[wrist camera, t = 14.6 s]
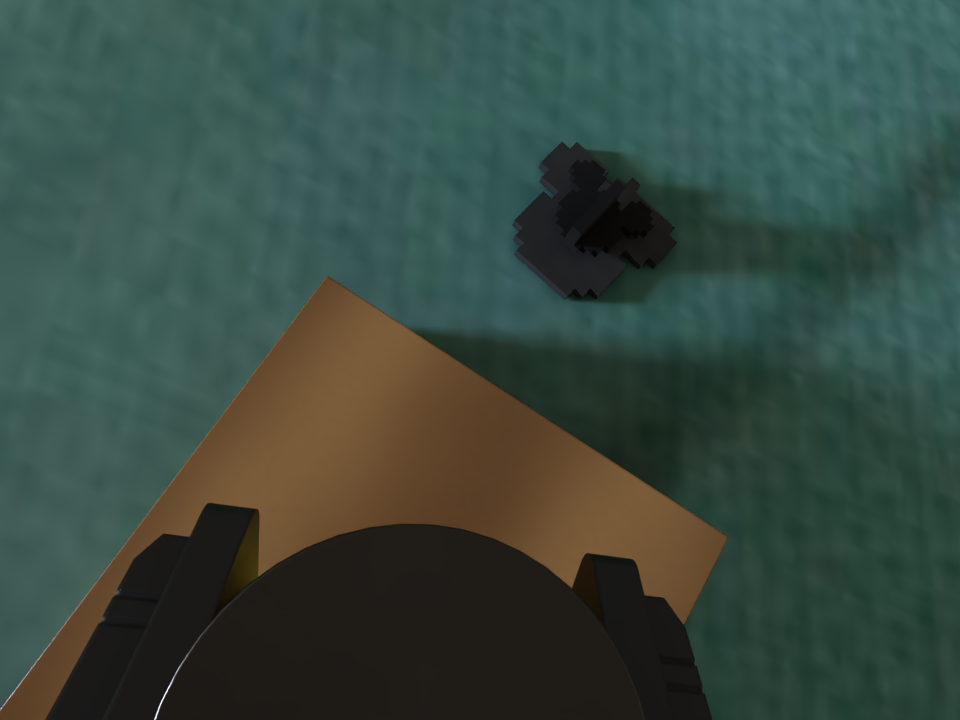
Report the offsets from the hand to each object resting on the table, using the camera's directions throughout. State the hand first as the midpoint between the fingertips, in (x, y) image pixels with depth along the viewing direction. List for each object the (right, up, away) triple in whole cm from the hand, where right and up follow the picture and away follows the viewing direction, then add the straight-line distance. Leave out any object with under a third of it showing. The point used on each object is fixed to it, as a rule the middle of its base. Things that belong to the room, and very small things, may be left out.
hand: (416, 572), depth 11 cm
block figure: (+5, +8, +17) cm, 20 cm away
